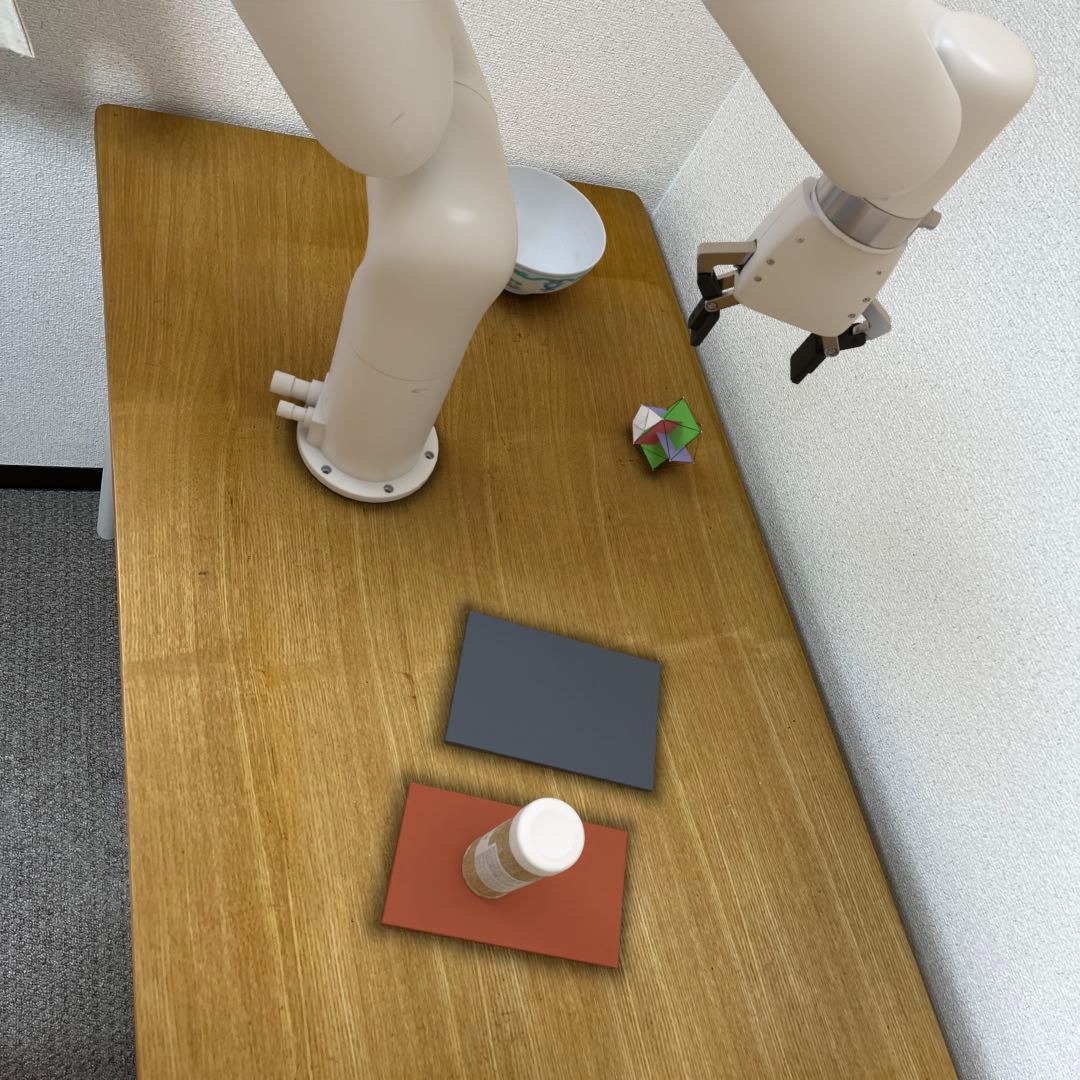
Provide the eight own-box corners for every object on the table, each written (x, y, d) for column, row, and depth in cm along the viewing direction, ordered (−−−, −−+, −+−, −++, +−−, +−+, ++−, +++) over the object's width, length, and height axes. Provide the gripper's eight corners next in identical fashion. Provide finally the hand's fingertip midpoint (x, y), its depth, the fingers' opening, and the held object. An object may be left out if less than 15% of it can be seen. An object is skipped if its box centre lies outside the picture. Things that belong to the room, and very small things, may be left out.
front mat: (380, 924, 63) (382, 923, 62) (409, 783, 68) (411, 781, 68) (614, 968, 67) (617, 967, 67) (624, 833, 72) (627, 831, 72)
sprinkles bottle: (503, 826, 69) (568, 785, 58) (527, 885, 67) (599, 853, 56) (449, 850, 66) (506, 812, 55) (474, 911, 65) (537, 884, 54)
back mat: (443, 742, 71) (445, 740, 70) (468, 613, 77) (470, 610, 76) (650, 792, 75) (653, 790, 74) (657, 666, 81) (660, 663, 80)
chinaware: (422, 235, 96) (440, 177, 90) (529, 208, 104) (552, 154, 97) (499, 340, 93) (523, 289, 86) (603, 305, 101) (632, 255, 94)
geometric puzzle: (689, 405, 95) (682, 373, 87) (718, 460, 92) (713, 431, 85) (627, 436, 96) (615, 406, 88) (654, 490, 93) (644, 465, 86)
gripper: (965, 210, 67) (829, 354, 81) (761, 121, 64) (656, 288, 78) (976, 279, 63) (832, 418, 77) (759, 188, 60) (650, 351, 74)
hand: (744, 353), depth 78 cm, fingers open, 9 cm apart
